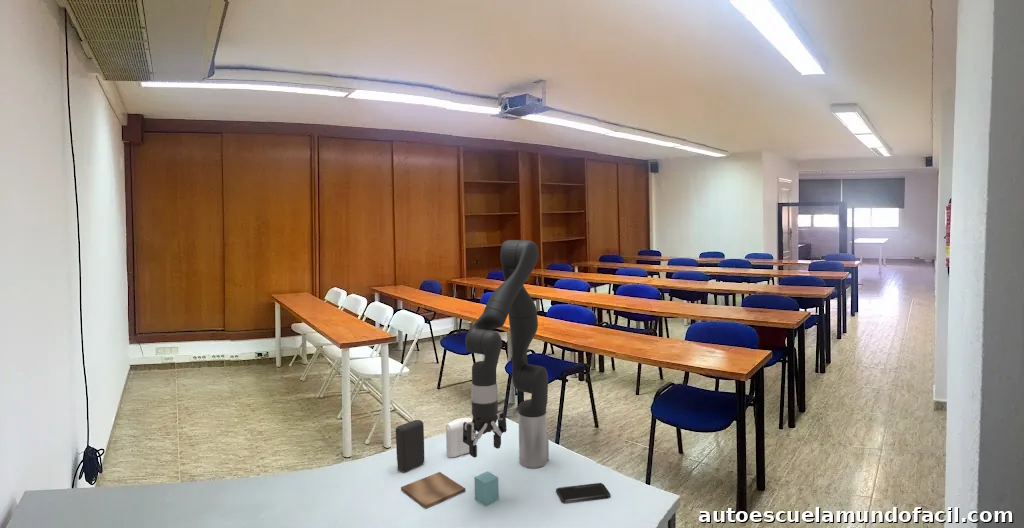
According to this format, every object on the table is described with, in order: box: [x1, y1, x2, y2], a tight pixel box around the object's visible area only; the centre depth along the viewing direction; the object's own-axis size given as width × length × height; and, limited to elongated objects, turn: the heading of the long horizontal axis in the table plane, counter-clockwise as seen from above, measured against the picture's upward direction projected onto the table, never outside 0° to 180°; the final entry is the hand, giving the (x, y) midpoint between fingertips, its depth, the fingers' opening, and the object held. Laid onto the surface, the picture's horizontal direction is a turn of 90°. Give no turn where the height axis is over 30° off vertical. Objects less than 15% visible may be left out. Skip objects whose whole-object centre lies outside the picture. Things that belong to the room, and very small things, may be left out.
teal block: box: [473, 471, 500, 507], centre depth 159 cm, size 5×5×7 cm
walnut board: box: [400, 471, 466, 510], centre depth 164 cm, size 14×14×1 cm
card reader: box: [395, 419, 425, 473], centre depth 179 cm, size 9×4×15 cm, turn 136°
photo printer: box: [445, 417, 474, 458], centre depth 189 cm, size 10×4×12 cm, turn 123°
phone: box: [555, 482, 611, 505], centre depth 161 cm, size 8×1×15 cm
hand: (485, 452), depth 157 cm, fingers open, 8 cm apart
